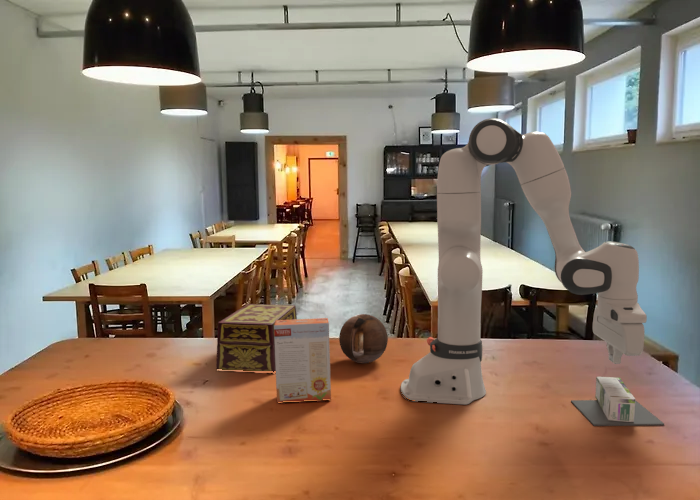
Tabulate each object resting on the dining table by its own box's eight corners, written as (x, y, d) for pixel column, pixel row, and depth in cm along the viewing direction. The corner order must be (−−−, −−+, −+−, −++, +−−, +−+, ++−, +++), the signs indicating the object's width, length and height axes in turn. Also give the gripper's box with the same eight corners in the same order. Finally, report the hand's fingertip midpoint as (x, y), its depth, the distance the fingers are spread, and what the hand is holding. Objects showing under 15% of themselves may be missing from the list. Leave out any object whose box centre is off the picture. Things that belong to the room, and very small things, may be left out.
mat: (593, 425, 131) (593, 424, 131) (571, 401, 145) (571, 400, 145) (664, 425, 131) (664, 423, 131) (634, 401, 145) (634, 399, 145)
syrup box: (618, 398, 146) (635, 423, 131) (593, 397, 147) (608, 421, 132) (619, 377, 145) (637, 399, 131) (595, 375, 146) (609, 397, 132)
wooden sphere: (357, 351, 189) (357, 307, 187) (396, 359, 180) (396, 313, 178) (329, 364, 177) (328, 316, 175) (370, 373, 168) (369, 323, 166)
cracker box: (330, 393, 153) (328, 316, 151) (331, 402, 147) (329, 322, 145) (277, 395, 152) (275, 318, 150) (276, 404, 146) (273, 324, 144)
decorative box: (248, 345, 199) (246, 302, 197) (300, 347, 195) (299, 304, 193) (215, 371, 172) (213, 323, 170) (275, 375, 169) (273, 325, 167)
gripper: (587, 298, 151) (585, 349, 153) (622, 318, 131) (620, 376, 133) (611, 298, 151) (609, 349, 153) (650, 317, 131) (647, 376, 132)
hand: (614, 362), depth 142 cm, fingers closed
